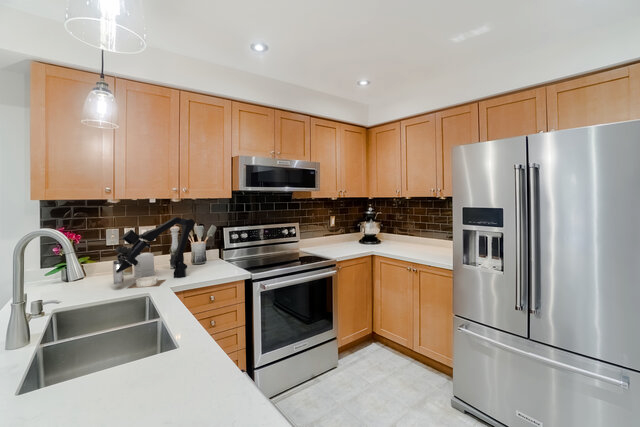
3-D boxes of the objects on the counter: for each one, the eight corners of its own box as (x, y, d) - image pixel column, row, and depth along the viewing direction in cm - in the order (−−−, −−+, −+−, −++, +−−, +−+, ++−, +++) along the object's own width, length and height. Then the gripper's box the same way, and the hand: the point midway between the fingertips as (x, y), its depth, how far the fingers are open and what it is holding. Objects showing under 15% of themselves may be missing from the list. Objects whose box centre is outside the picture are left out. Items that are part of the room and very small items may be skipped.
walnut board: (166, 280, 184) (166, 279, 184) (158, 287, 169) (158, 286, 169) (136, 282, 180) (136, 281, 180) (126, 289, 165) (126, 288, 165)
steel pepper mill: (125, 281, 166) (124, 259, 165) (121, 283, 161) (120, 261, 161) (116, 282, 165) (114, 260, 164) (112, 284, 160) (111, 262, 160)
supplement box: (147, 273, 204) (146, 252, 203) (154, 275, 199) (154, 253, 199) (133, 276, 196) (132, 254, 195) (141, 278, 191) (140, 255, 191)
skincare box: (120, 275, 199) (119, 257, 199) (122, 274, 204) (121, 256, 203) (130, 274, 201) (130, 257, 201) (132, 273, 205) (132, 256, 205)
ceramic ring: (159, 280, 181) (159, 276, 180) (153, 285, 170) (153, 280, 170) (140, 282, 178) (140, 277, 178) (132, 287, 168) (132, 282, 167)
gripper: (119, 239, 171) (97, 261, 163) (130, 242, 159) (107, 265, 151) (135, 251, 177) (114, 272, 169) (147, 254, 166) (125, 277, 158)
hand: (115, 271), depth 162 cm, fingers closed on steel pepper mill, 5 cm apart
